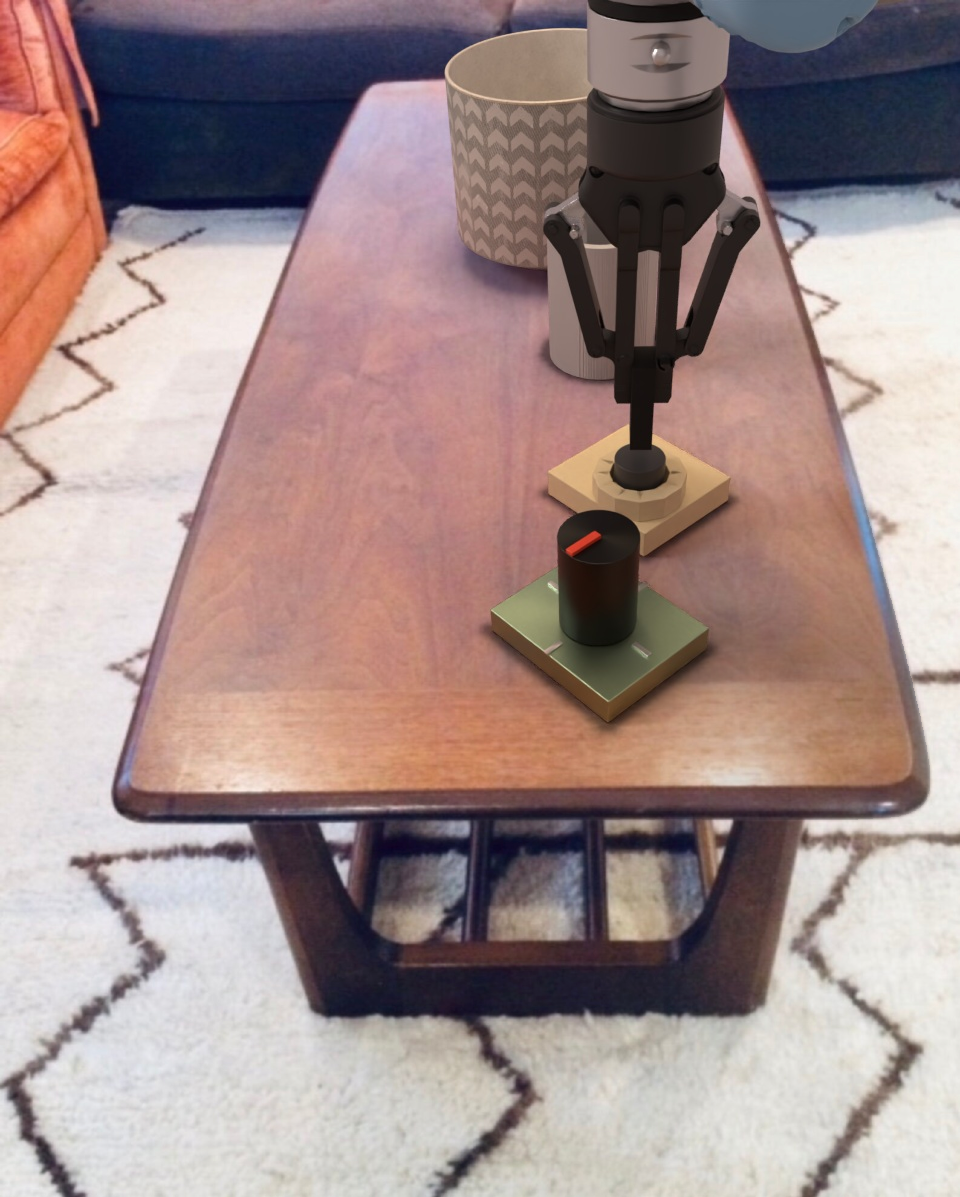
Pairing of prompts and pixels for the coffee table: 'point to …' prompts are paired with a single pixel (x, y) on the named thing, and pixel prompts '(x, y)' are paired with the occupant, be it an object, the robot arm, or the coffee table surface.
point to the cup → (603, 265)
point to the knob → (598, 576)
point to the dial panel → (607, 670)
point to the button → (639, 468)
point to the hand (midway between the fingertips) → (640, 437)
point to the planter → (516, 138)
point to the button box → (653, 511)
